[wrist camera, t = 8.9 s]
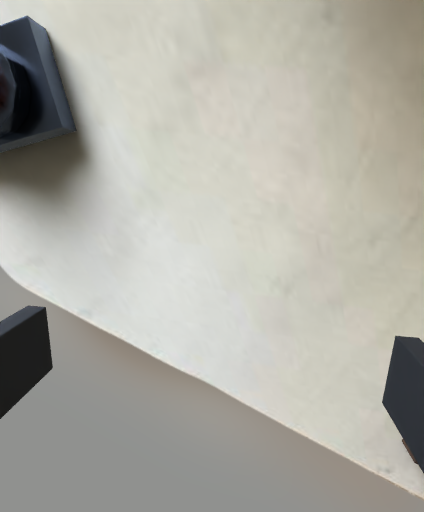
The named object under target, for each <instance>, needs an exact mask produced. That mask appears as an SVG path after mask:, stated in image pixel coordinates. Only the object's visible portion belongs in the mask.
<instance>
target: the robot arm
mask: <svg viewBox="0 0 424 512" xmlns="http://www.w3.org/2000/svg"><path fill="white" fill-rule="evenodd" d="M52 367H53V366H52V358H51V349H50V340H49V331H48V322H47V314H46V307H37V306H27V307H25V308H23V309H22V310H20V311H18V312H16V313H14V314H13V315H11V316H9V317H8V318H6V319H4V320H2V321H1V322H0V419H1V418H2V417H3V416H4V415H5V414H6V413H7V412H8V411H9V410H10V409H11V408H12V407H13V406H14V405H15V404H16V403H17V402H18V401H19V400H20V399H21V398H22V397H23V396H24V395H25V394H27V393H28V392H29V391H30V390H31V389H32V388H33V387H34V386H35V384H37V383H38V382H39V381H40V380H41V379H42V378H43V377H44V376H45V375H46V374H47V373H48V372H49V371H50V370H51V369H52ZM382 403H383V405H384V407H385V408H386V410H387V412H388V413H389V415H390V417H391V419H392V420H393V422H394V424H395V425H396V427H397V429H398V430H399V432H400V434H401V436H402V437H403V439H404V441H405V442H406V444H407V446H408V447H409V449H410V451H411V453H412V454H413V456H414V458H415V459H416V461H417V463H418V464H419V466H420V468H421V470H422V471H423V473H424V342H422V341H421V340H420V339H419V338H414V337H402V336H395V341H394V346H393V351H392V356H391V361H390V366H389V371H388V376H387V381H386V386H385V391H384V396H383V401H382Z"/></svg>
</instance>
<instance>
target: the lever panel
mask: <svg viewBox="0 0 424 512" xmlns="http://www.w3.org/2000/svg"><path fill="white" fill-rule="evenodd" d="M402 442H403V444H404V445H405V447H406V449H407V451H408V452H409V454H410V456H411V457H412V459H413V461H414V462H415V463H416V464H418V463H417V461H416V459H415V458H414V456H413V454H412V453H411V451H410V449H409V447H408V446H407V444H406V442H405V441H404V439H402ZM418 465H419V464H418Z"/></svg>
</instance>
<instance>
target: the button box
mask: <svg viewBox="0 0 424 512" xmlns="http://www.w3.org/2000/svg"><path fill="white" fill-rule="evenodd" d="M74 131H77V130H76V127H75V124H74V120H73V117H72V114H71V111H70V107H69V104H68V101H67V97H66V94H65V91H64V88H63V84H62V81H61V78H60V74H59V71H58V68H57V65H56V61H55V58H54V55H53V52H52V48H51V45H50V42H49V38H48V35H47V32H46V29H45V28H43V27H42V26H41V25H39V24H38V23H37V22H35V21H34V20H32V19H31V18H30V17H28V16H25V17H22V18H19V19H17V20H14V21H11V22H9V23H6V24H3V25H0V153H1V152H4V151H8V150H11V149H15V148H18V147H22V146H25V145H29V144H32V143H36V142H39V141H43V140H46V139H50V138H53V137H57V136H60V135H64V134H67V133H71V132H74Z"/></svg>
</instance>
